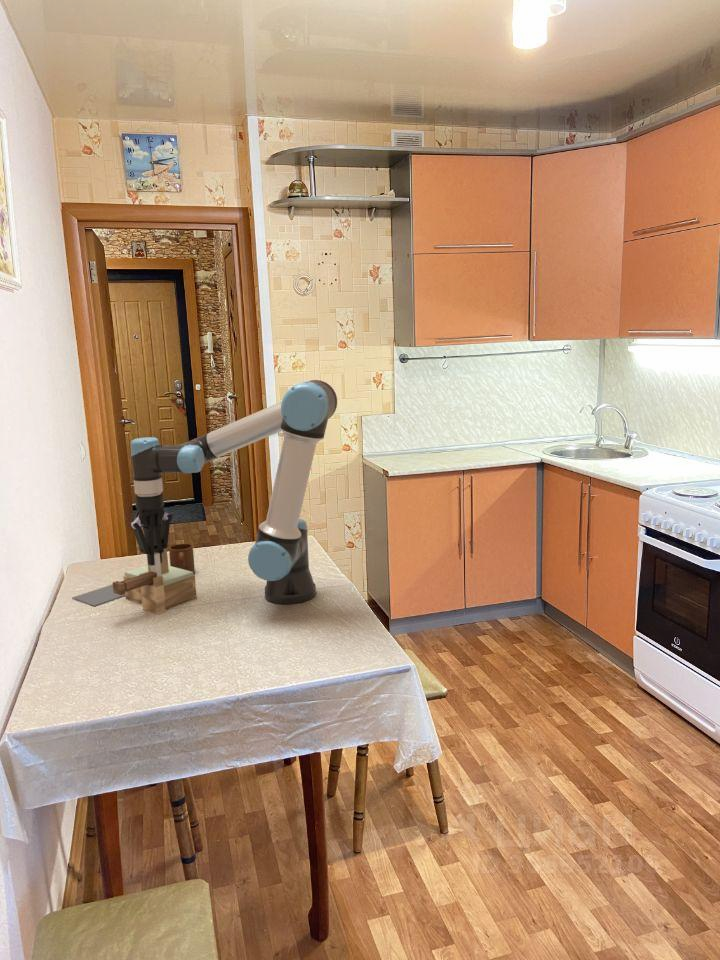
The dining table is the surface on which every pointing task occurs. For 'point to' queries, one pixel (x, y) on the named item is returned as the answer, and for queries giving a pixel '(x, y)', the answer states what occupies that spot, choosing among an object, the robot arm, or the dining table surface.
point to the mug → (182, 557)
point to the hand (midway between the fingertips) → (156, 575)
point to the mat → (98, 596)
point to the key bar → (133, 583)
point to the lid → (163, 571)
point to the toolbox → (163, 594)
